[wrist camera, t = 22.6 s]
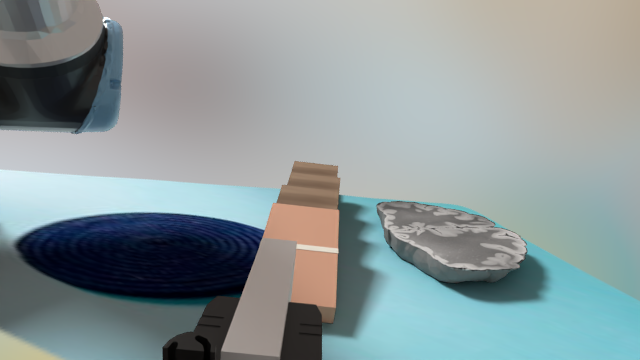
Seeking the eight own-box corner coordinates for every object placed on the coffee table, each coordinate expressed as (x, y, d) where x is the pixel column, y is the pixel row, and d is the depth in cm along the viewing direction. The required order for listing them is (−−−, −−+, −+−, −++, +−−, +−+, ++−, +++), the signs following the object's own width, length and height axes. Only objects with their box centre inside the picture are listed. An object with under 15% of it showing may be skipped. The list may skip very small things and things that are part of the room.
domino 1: (334, 213, 46) (338, 165, 56) (280, 207, 46) (294, 160, 56) (332, 225, 47) (337, 176, 57) (280, 219, 47) (293, 171, 57)
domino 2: (335, 235, 39) (340, 177, 49) (273, 227, 40) (290, 171, 50) (333, 248, 40) (339, 189, 50) (273, 241, 41) (290, 183, 51)
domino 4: (336, 307, 27) (339, 209, 37) (244, 297, 27) (272, 202, 37) (333, 324, 28) (337, 224, 38) (245, 314, 28) (272, 217, 38)
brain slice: (566, 288, 38) (574, 264, 37) (432, 303, 32) (438, 274, 32) (451, 218, 56) (455, 200, 55) (352, 220, 50) (355, 200, 50)
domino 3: (333, 264, 33) (338, 190, 43) (259, 254, 33) (282, 184, 43) (331, 278, 34) (337, 204, 44) (259, 269, 34) (281, 197, 44)
